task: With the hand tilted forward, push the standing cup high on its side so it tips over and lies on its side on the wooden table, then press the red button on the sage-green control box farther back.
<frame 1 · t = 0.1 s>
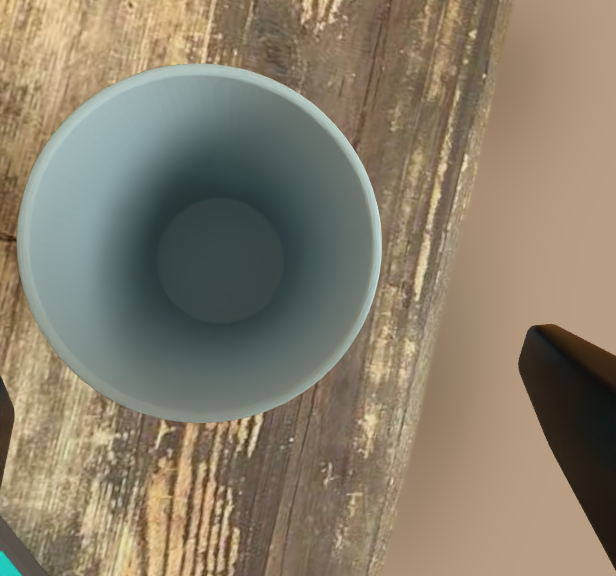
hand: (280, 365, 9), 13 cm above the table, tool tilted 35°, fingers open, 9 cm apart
cup: (222, 261, 22), on the table
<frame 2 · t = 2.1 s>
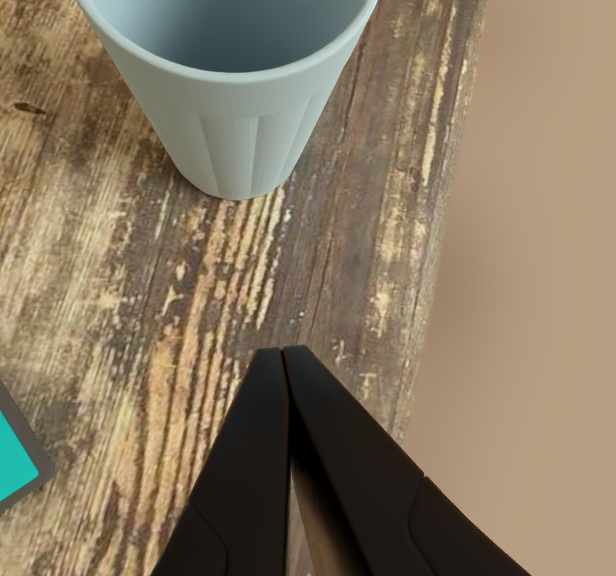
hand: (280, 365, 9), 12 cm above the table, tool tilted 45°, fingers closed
cup: (236, 142, 23), on the table
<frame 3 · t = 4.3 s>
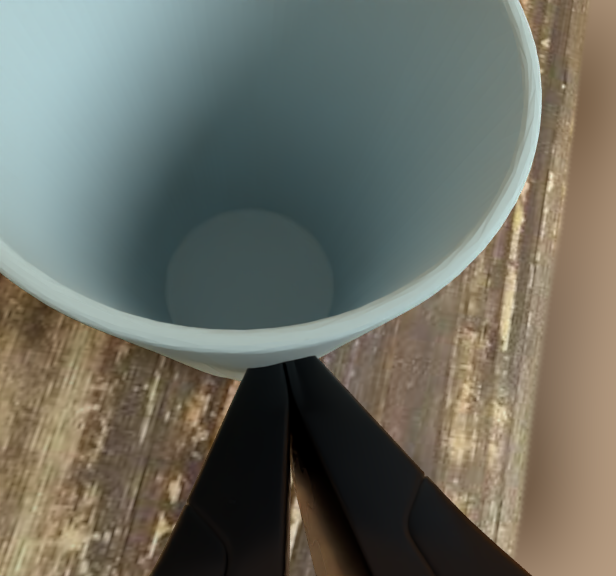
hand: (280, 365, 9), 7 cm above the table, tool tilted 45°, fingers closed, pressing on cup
cup: (251, 294, 17), on the table, touching gripper
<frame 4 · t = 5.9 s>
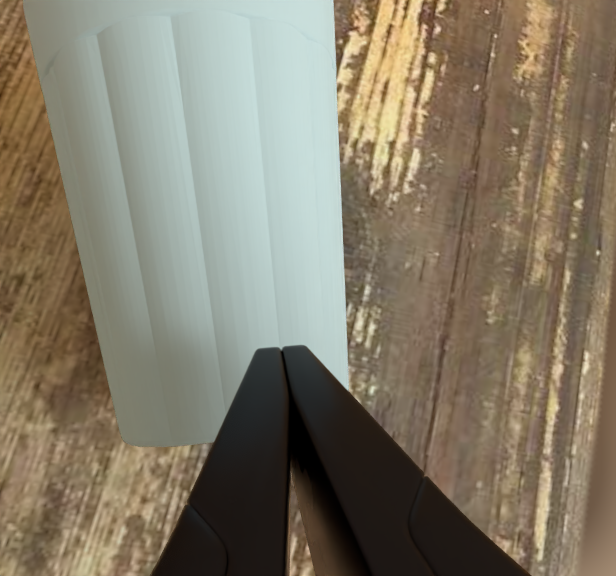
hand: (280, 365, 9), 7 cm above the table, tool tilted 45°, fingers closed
cup: (240, 428, 13), point 3 cm above the table
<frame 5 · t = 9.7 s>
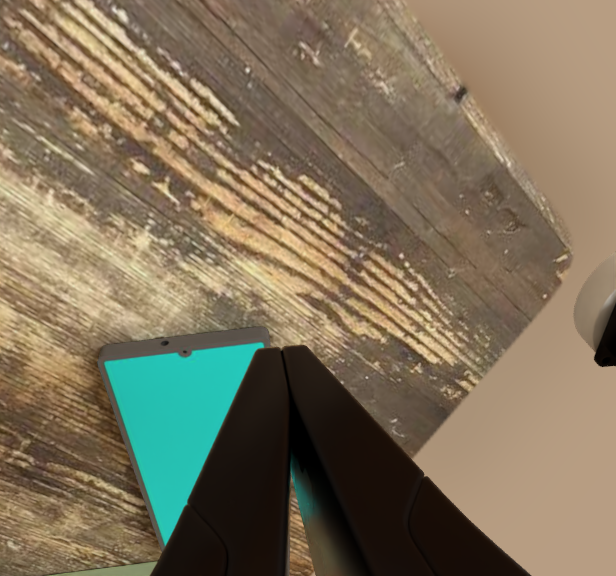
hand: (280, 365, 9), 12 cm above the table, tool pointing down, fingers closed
smartphone: (209, 445, 28), on the table
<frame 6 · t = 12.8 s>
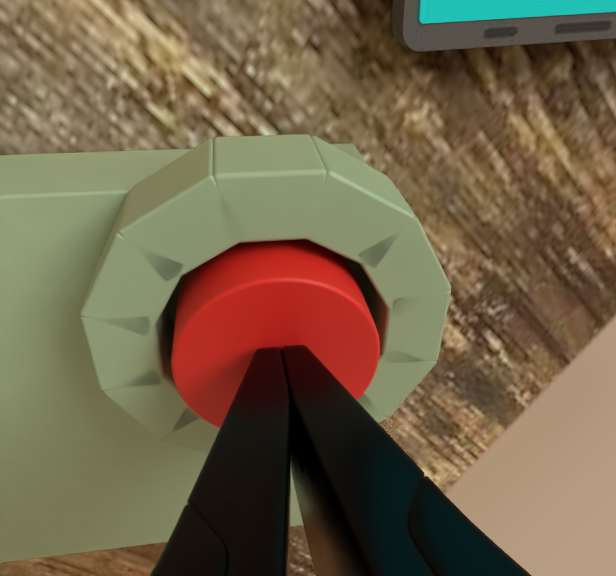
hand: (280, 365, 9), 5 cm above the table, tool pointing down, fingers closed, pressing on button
button box: (82, 354, 14), on the table
button: (274, 335, 10), point 4 cm above the table, slide at -0.6 cm, touching gripper
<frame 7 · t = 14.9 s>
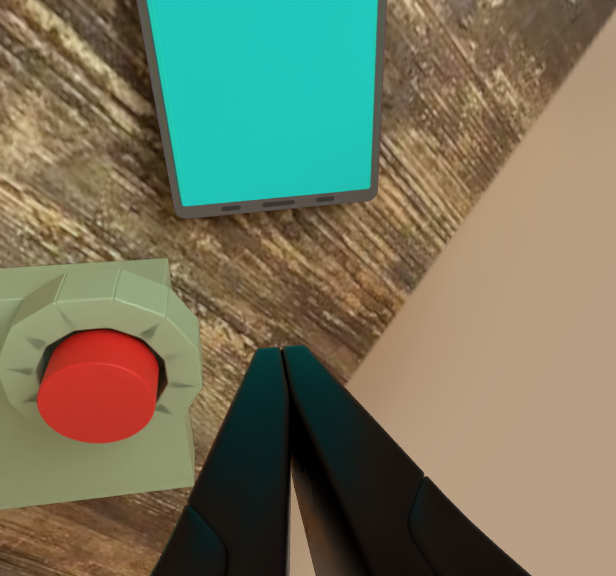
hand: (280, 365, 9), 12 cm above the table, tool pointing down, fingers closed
button box: (13, 380, 23), on the table
button: (101, 387, 18), point 4 cm above the table, slide at 0.1 cm
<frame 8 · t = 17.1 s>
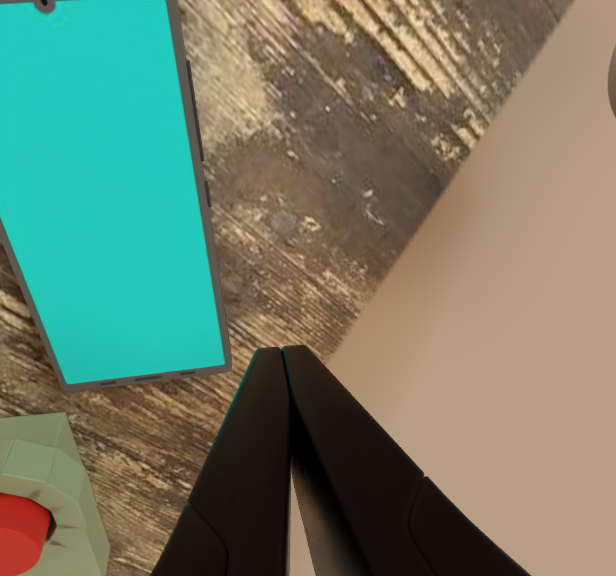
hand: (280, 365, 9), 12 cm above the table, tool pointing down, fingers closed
smartphone: (112, 216, 20), on the table
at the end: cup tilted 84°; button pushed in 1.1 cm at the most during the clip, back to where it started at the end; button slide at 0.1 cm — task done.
